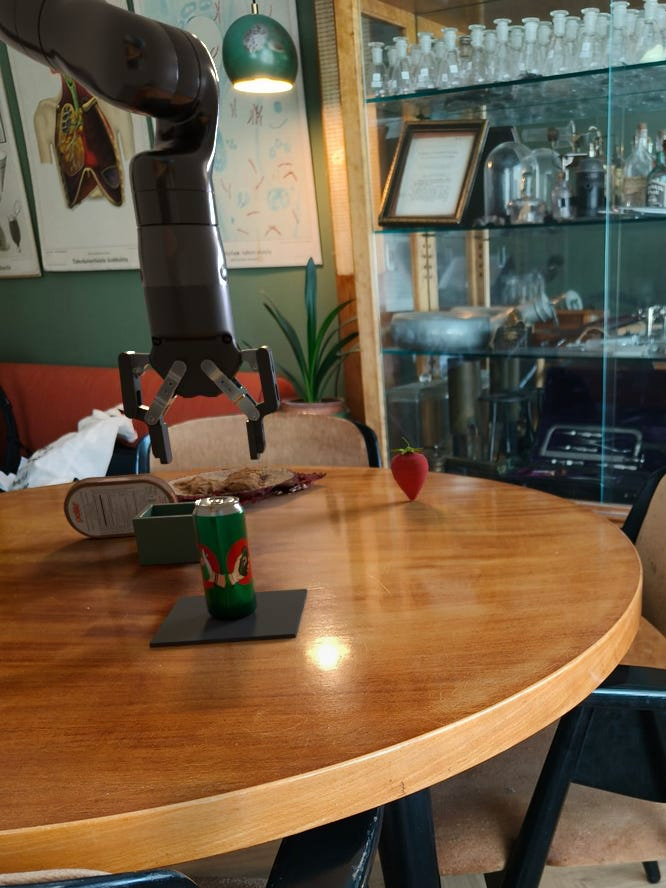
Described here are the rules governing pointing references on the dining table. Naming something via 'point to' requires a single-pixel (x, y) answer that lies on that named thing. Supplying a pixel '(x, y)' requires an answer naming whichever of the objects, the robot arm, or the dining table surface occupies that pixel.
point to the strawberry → (409, 470)
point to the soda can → (224, 557)
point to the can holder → (166, 534)
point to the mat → (266, 622)
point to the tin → (113, 503)
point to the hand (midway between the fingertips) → (211, 460)
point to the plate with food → (240, 483)
